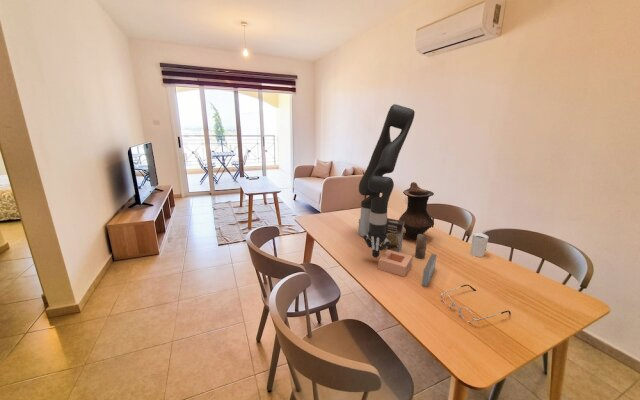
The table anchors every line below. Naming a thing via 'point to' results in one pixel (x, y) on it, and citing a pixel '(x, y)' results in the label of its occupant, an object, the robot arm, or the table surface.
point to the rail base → (429, 270)
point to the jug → (416, 212)
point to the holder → (395, 262)
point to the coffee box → (394, 234)
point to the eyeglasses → (465, 307)
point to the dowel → (421, 246)
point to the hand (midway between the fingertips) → (375, 256)
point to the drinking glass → (479, 244)
